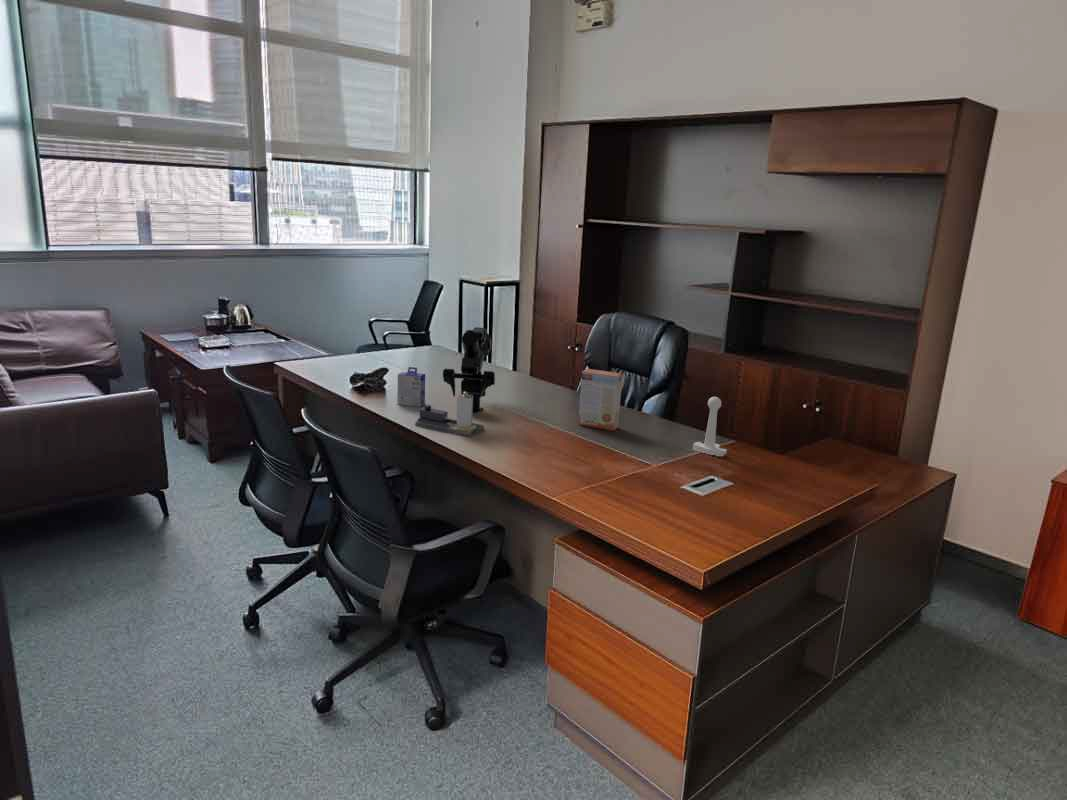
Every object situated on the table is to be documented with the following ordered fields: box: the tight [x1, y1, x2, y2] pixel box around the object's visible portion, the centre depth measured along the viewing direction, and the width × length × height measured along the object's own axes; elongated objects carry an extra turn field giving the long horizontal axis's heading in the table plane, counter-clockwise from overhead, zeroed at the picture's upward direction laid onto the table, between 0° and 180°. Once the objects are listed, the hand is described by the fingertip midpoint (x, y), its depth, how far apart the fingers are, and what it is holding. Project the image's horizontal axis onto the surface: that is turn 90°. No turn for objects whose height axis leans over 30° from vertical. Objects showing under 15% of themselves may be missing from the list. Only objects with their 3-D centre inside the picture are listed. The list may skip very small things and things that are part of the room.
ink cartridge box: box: [397, 366, 426, 407], centre depth 288 cm, size 10×6×14 cm, turn 78°
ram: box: [419, 404, 449, 423], centre depth 264 cm, size 4×10×5 cm, turn 66°
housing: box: [456, 392, 473, 429], centre depth 259 cm, size 5×5×12 cm
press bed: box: [414, 417, 485, 438], centre depth 263 cm, size 10×22×2 cm, turn 66°
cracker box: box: [578, 368, 623, 432], centre depth 271 cm, size 14×6×21 cm, turn 65°
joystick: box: [692, 396, 728, 457], centre depth 250 cm, size 11×8×20 cm
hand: (466, 397), depth 264 cm, fingers open, 9 cm apart
